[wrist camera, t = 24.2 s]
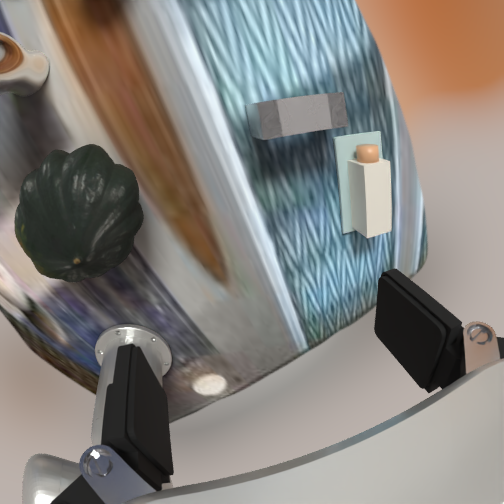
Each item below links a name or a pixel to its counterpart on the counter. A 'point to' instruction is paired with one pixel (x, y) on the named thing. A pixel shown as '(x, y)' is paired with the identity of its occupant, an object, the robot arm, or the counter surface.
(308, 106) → the housing
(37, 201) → the squash
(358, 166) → the plug
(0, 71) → the beer glass
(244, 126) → the counter surface
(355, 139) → the mat
